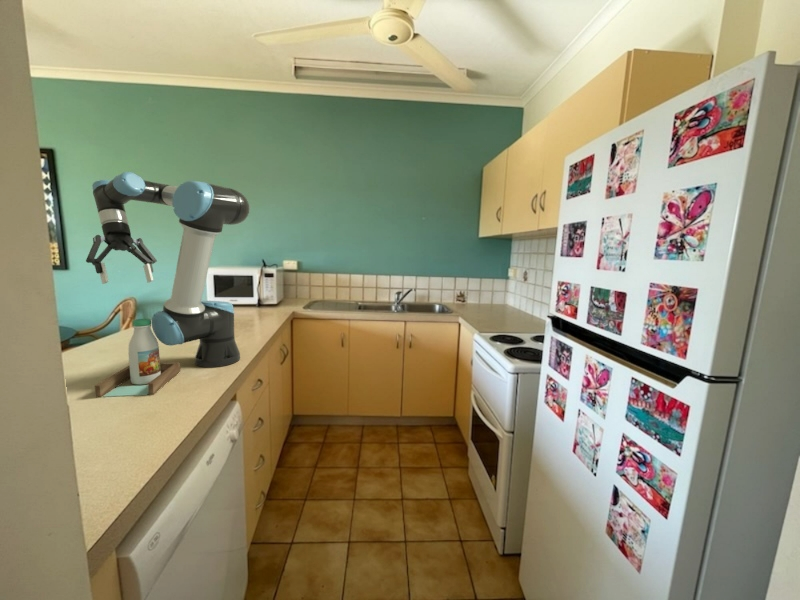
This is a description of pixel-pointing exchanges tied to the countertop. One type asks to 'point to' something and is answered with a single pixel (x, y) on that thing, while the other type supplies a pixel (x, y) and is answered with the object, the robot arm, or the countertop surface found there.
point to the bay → (113, 381)
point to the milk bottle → (143, 353)
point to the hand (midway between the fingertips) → (129, 282)
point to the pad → (128, 391)
